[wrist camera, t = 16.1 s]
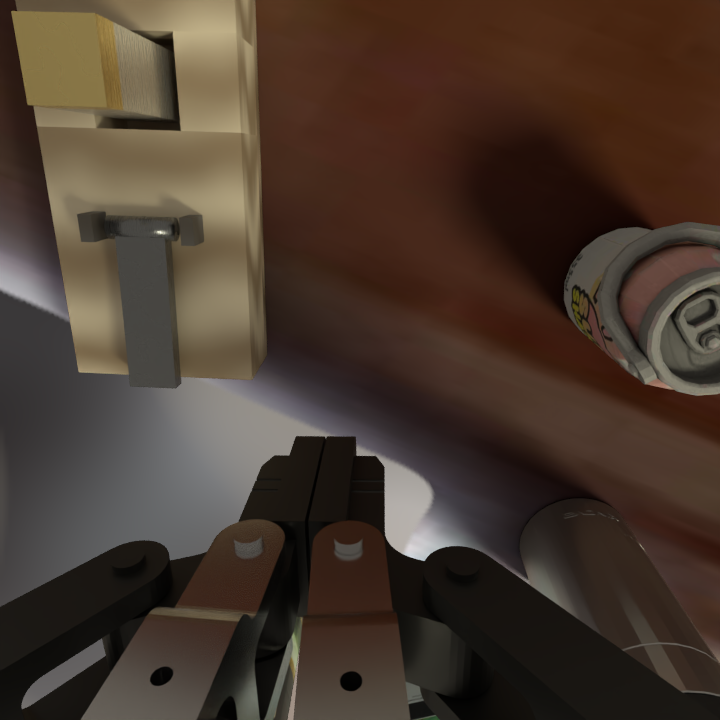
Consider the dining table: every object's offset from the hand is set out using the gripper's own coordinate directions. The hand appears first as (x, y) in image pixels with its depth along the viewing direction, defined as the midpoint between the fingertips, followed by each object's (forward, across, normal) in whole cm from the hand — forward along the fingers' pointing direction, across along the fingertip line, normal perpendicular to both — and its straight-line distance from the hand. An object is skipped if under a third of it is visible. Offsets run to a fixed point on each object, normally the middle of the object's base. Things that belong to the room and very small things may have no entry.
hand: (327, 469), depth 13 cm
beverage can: (+27, -18, 0) cm, 32 cm away
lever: (+21, +13, 0) cm, 25 cm away
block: (+26, +13, -6) cm, 30 cm away
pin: (+25, +13, -12) cm, 31 cm away
